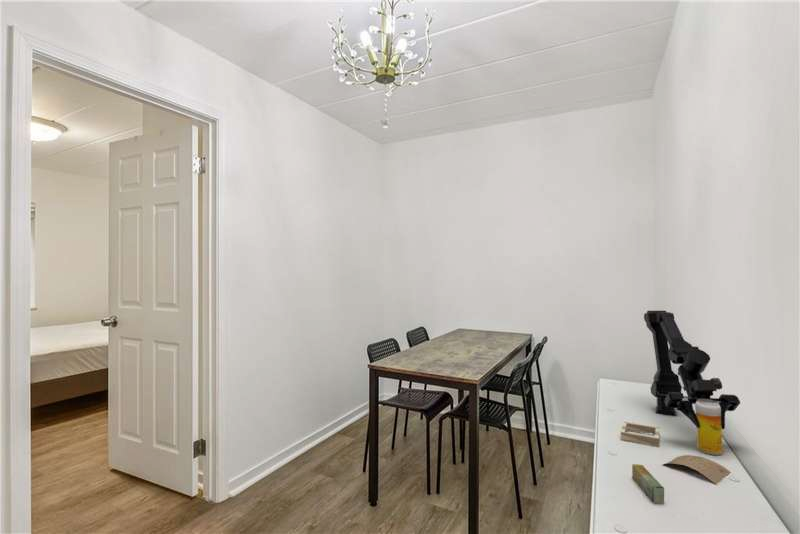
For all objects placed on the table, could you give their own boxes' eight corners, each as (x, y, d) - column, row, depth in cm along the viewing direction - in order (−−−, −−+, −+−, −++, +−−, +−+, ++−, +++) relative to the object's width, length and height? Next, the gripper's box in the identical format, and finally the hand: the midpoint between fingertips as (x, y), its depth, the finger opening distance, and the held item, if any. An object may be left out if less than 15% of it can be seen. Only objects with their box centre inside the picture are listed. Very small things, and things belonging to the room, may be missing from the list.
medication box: (665, 505, 94) (665, 488, 94) (653, 504, 94) (652, 487, 94) (642, 478, 106) (642, 463, 106) (631, 478, 106) (631, 463, 106)
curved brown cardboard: (659, 466, 112) (659, 457, 112) (675, 456, 118) (675, 447, 118) (721, 489, 100) (721, 478, 100) (736, 477, 106) (736, 467, 106)
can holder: (623, 429, 137) (623, 421, 138) (659, 435, 132) (659, 427, 132) (621, 440, 129) (620, 432, 129) (659, 447, 123) (658, 439, 123)
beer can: (724, 457, 115) (722, 406, 115) (698, 453, 118) (696, 403, 119) (720, 449, 120) (718, 400, 121) (696, 445, 124) (694, 397, 124)
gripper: (666, 366, 126) (682, 413, 115) (735, 368, 121) (759, 418, 110) (658, 384, 133) (672, 430, 123) (723, 387, 129) (744, 434, 118)
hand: (711, 428), depth 118 cm, fingers closed on beer can, 6 cm apart
